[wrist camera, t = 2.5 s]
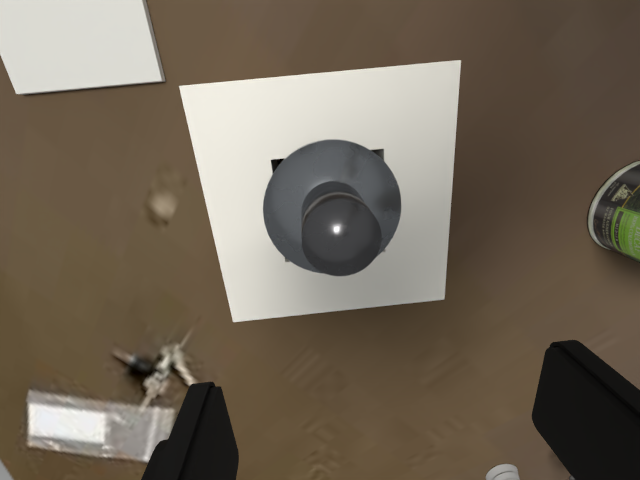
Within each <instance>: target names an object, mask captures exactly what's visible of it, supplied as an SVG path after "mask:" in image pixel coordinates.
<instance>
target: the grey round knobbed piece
mask: <svg viewBox="0 0 640 480" xmlns="http://www.w3.org/2000/svg"><path fill="white" fill-rule="evenodd" d="M400 215H401V195H400V190H399V186H398V183H397V181H396V178H395V176H394V174H393V173H392V171H391V170H390V168H389V167H388V165H387V164H386V163H385V162H384V161H383V160H382V159H381V158H380V157H379V156H378V155H376V154H375V153H374V152H372V151H371V150H369V149H367V148H366V147H364V146H362V145H359V144H357V143H355V142H351V141H347V140H340V139H325V140H319V141H315V142H312V143H309V144H306V145H304V146H302V147H300V148H298V149H297V150H295V151H293V152H292V153H291V154H289V155H288V156H287V157H286V158H285V159H284V160H283V161H282V162H281V163H280V164H279V165H278V167H277V168H276V170H275V171H274V173H273V174H272V176H271V179H270V181H269V183H268V185H267V188H266V191H265V196H264V201H263V217H264V223H265V227H266V230H267V232H268V235H269V237H270V239H271V241H272V243H273V244H274V246H275V247H276V248H277V250H278V251H279V252H280V253H281V254H282V255H283V256H284V257H285V258H287V259H288V260H289V261H290V262H292V263H294V264H295V265H297V266H299V267H301V268H303V269H306V270H309V271H312V272H317V273H324V274H328V275H332V276H348V275H352V274H355V273H358V272H360V271H361V270H363V269H365V268H366V267H367V266H368V265H370V264H371V263H372V261H373V260H374V259H375V258H376V257H377V256H378V255H379V254H380V253H381V252H382V251H383V250H384V249H385V248H386V247H387V245H388V244H389V242H390V241H391V239H392V238H393V236H394V234H395V232H396V229H397V227H398V224H399V220H400Z"/></svg>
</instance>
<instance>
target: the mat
mask: <svg viewBox="0 0 640 480" xmlns="http://www.w3.org/2000/svg"><path fill="white" fill-rule="evenodd" d="M0 55H1V57H2V60H3V62H4V65H5V67H6V70H7V72H8V74H9V77H10V79H11V82H12V84H13V87H14V89H15V92H16V94H23V95H25V94H36V93H46V92H57V91H68V90H79V89H90V88H101V87H112V86H122V85H133V84H144V83H155V82H166V81H165V77H164V73H163V69H162V64H161V60H160V56H159V52H158V48H157V44H156V40H155V36H154V32H153V27H152V23H151V19H150V15H149V11H148V7H147V3H146V0H0Z"/></svg>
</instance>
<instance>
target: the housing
mask: <svg viewBox="0 0 640 480" xmlns="http://www.w3.org/2000/svg"><path fill="white" fill-rule="evenodd" d="M460 67H461V60H456V61H445V62H434V63H423V64H413V65H402V66H391V67H380V68H369V69H359V70H348V71H337V72H326V73H315V74H304V75H294V76H283V77H272V78H261V79H250V80H240V81H229V82H218V83H207V84H196V85H185V86H179V88H180V92H181V96H182V101H183V105H184V110H185V114H186V118H187V123H188V127H189V131H190V136H191V140H192V144H193V149H194V153H195V157H196V162H197V166H198V171H199V175H200V179H201V184H202V188H203V192H204V197H205V201H206V205H207V210H208V214H209V219H210V223H211V227H212V232H213V236H214V240H215V245H216V249H217V253H218V258H219V262H220V266H221V271H222V275H223V280H224V284H225V288H226V293H227V297H228V301H229V306H230V310H231V314H232V319H233V322H239V321H248V320H258V319H267V318H276V317H286V316H295V315H304V314H314V313H323V312H332V311H342V310H351V309H360V308H369V307H379V306H388V305H397V304H407V303H416V302H425V301H435V300H444V298H445V283H446V269H447V255H448V240H449V226H450V211H451V197H452V183H453V168H454V154H455V139H456V125H457V110H458V96H459V82H460ZM325 139H340V140H347V141H351V142H355V143H357V144H359V145H362V146H364V147H366V148H367V149H369V150H371V151H372V152H374V153H375V154H376V155H378V156H379V157H380V158H381V159H382V160H383V161H384V162H385V163H386V164H387V165H388V167H389V168H390V170H391V171H392V173H393V174H394V176H395V178H396V181H397V183H398V186H399V190H400V195H401V215H400V220H399V224H398V227H397V229H396V232H395V234H394V236H393V238H392V239H391V241H390V242H389V244H388V245H387V247H386V248H385V249H384V250H383V251H382V252H381V253H380V254H379V255H378V256H377V257H376V258H375V259H374V260H373V261H372V263H371V264H370V265H368V266H367V267H366V268H365V269H363V270H361V271H360V272H358V273H355V274H352V275H348V276H332V275H328V274H324V273H317V272H312V271H309V270H306V269H303V268H301V267H299V266H297V265H295V264H294V263H292V262H290V261H289V260H288V259H287V258H285V257H284V256H283V255H282V254H281V253H280V252H279V251H278V250H277V248H276V247H275V246H274V244H273V243H272V241H271V239H270V237H269V235H268V232H267V230H266V227H265V223H264V217H263V201H264V196H265V191H266V188H267V185H268V183H269V181H270V179H271V176H272V174H273V173H274V171H275V170H276V168H277V167H278V161H277V159H283V158H286V157H287V156H288V155H289V154H291V153H292V152H293V151H295V150H297V149H298V148H300V147H302V146H304V145H306V144H309V143H312V142H315V141H319V140H325Z"/></svg>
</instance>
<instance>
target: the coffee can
mask: <svg viewBox="0 0 640 480" xmlns="http://www.w3.org/2000/svg"><path fill="white" fill-rule="evenodd" d="M588 228H589V232H590V235H591V237H592V238H593V240H594V241H595V242H596V243H597V244H599V245H600V246H602V247H604V248H606V249H609V250H613V251H615V252H617V253H619V254H622V255H624V256H626V257H628V258H630V259H633V260H635V261H637V262H639V263H640V161H637V162H634V163H632V164H630V165H628V166H626V167H624V168H622V169H621V170H619V171H618V172H616V173H615V174H614V175H613V176H612V177H610V178H609V179H608V180H607V181H606V182H605V183H604V185H603V186H602V187H601V188H600V190H599V191H598V192H597V194H596V196H595V197H594V199H593V201H592V204H591V207H590V210H589V214H588Z"/></svg>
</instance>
